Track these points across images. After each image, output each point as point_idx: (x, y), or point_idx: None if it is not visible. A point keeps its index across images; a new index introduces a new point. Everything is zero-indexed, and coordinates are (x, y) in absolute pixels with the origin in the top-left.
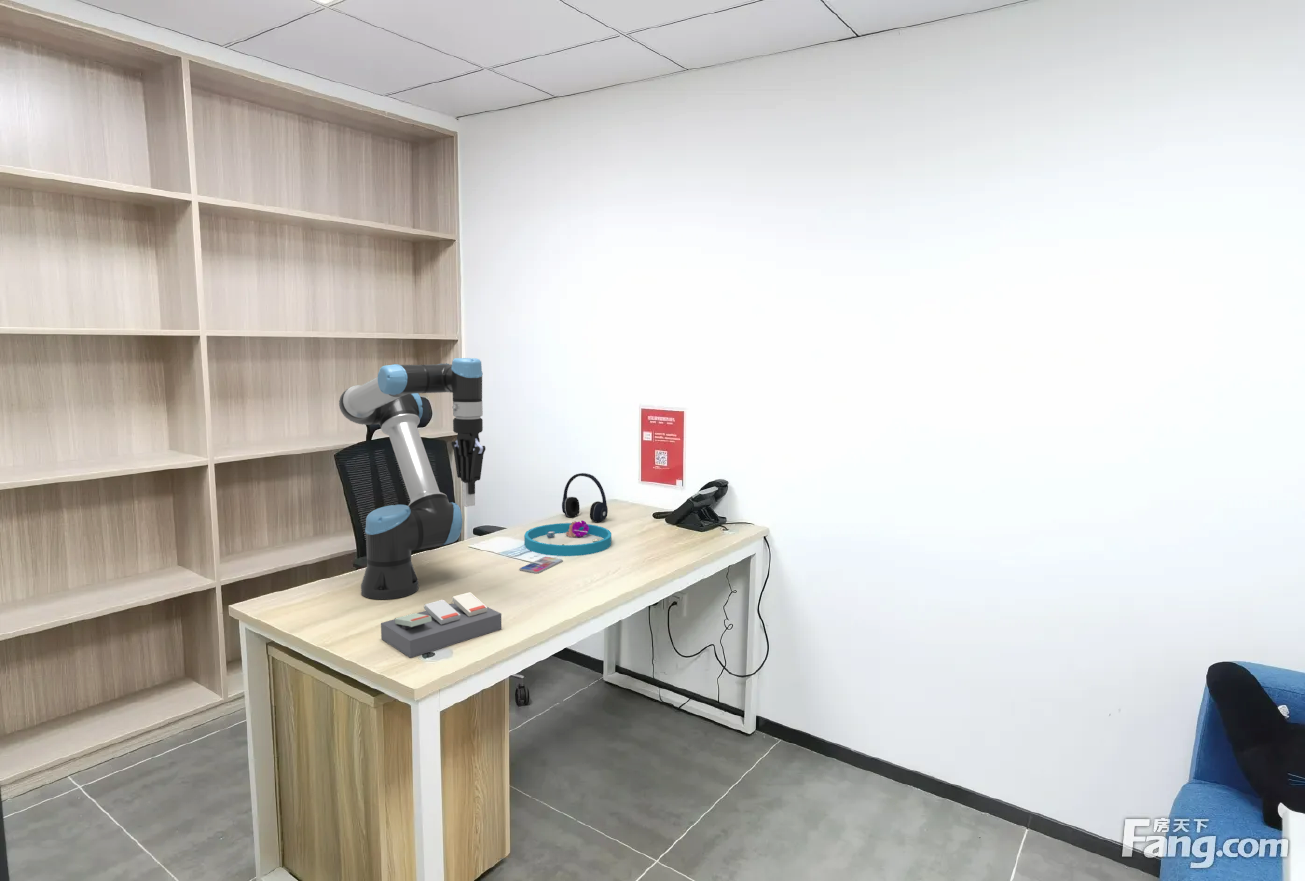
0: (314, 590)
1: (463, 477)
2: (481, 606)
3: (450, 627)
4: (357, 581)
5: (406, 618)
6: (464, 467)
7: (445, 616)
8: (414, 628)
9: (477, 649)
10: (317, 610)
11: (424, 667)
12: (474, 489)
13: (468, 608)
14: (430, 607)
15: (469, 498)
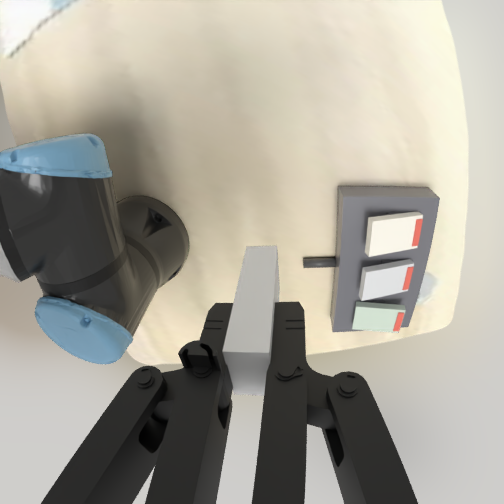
0: None
1: (229, 417)
2: (418, 225)
3: (419, 279)
4: None
5: (373, 325)
6: (215, 479)
7: (406, 285)
8: None
9: (448, 249)
10: (182, 328)
11: (431, 309)
12: (304, 327)
13: (408, 245)
14: (373, 295)
15: (276, 300)
